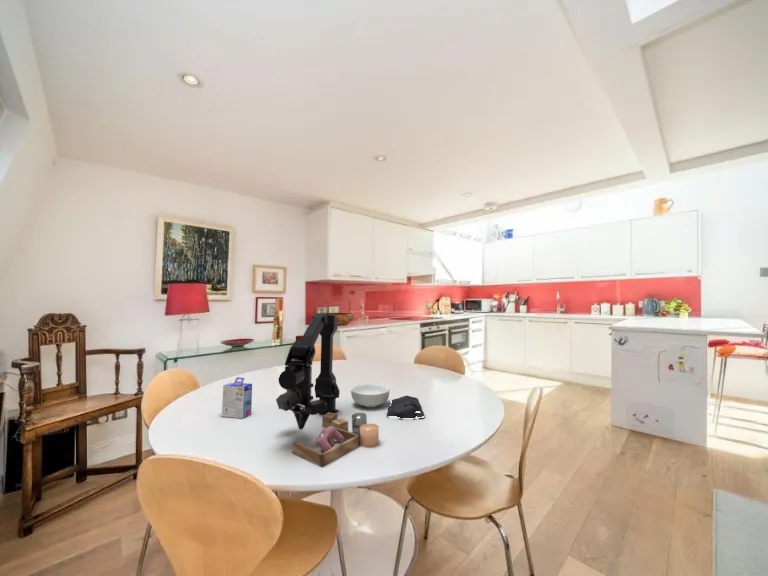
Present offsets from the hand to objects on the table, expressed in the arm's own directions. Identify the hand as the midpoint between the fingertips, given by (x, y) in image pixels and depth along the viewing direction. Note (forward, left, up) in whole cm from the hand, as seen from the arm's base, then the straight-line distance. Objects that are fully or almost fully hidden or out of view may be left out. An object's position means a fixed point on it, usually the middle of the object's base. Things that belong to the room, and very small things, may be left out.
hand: (301, 429), depth 101 cm
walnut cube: (-13, 0, -3) cm, 13 cm away
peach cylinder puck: (-11, +20, -3) cm, 23 cm away
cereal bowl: (-40, -3, -3) cm, 40 cm away
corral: (0, +12, -3) cm, 13 cm away
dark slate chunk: (-44, +13, -4) cm, 46 cm away
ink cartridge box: (+2, -37, -3) cm, 37 cm away
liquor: (-21, -28, -3) cm, 35 cm away
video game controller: (-1, +13, -3) cm, 13 cm away
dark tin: (-15, +13, -3) cm, 20 cm away
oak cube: (-11, +7, -3) cm, 13 cm away
